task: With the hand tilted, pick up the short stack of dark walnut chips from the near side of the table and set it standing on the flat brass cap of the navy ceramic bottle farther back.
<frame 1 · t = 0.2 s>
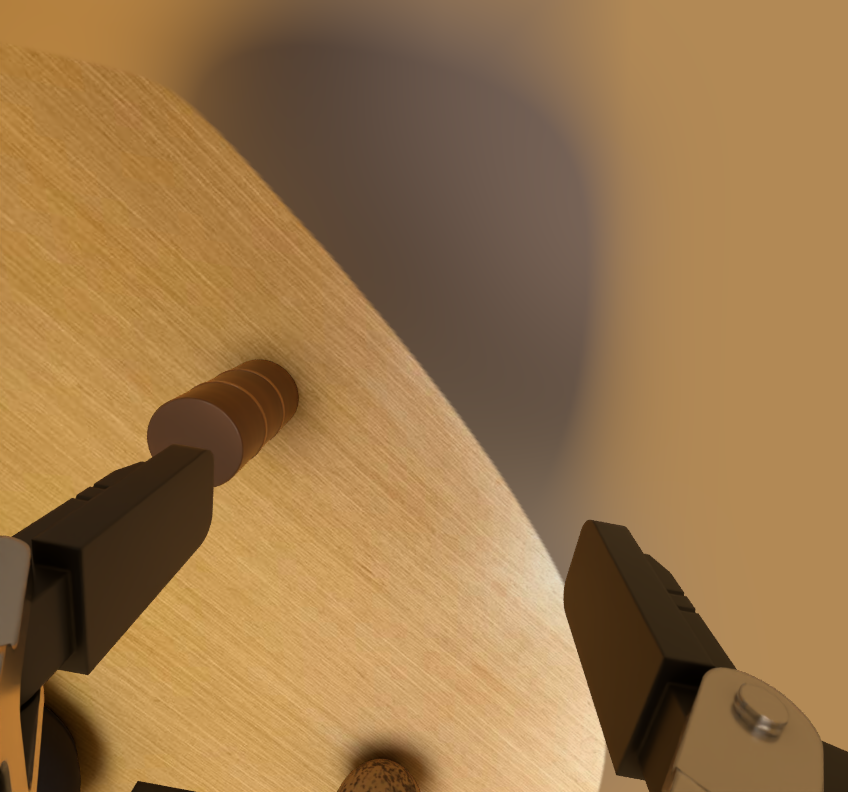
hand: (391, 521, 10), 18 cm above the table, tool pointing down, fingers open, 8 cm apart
decorative egg: (384, 765, 37), on the table
teapot: (14, 728, 38), on the table
chip stack: (263, 394, 29), on the table
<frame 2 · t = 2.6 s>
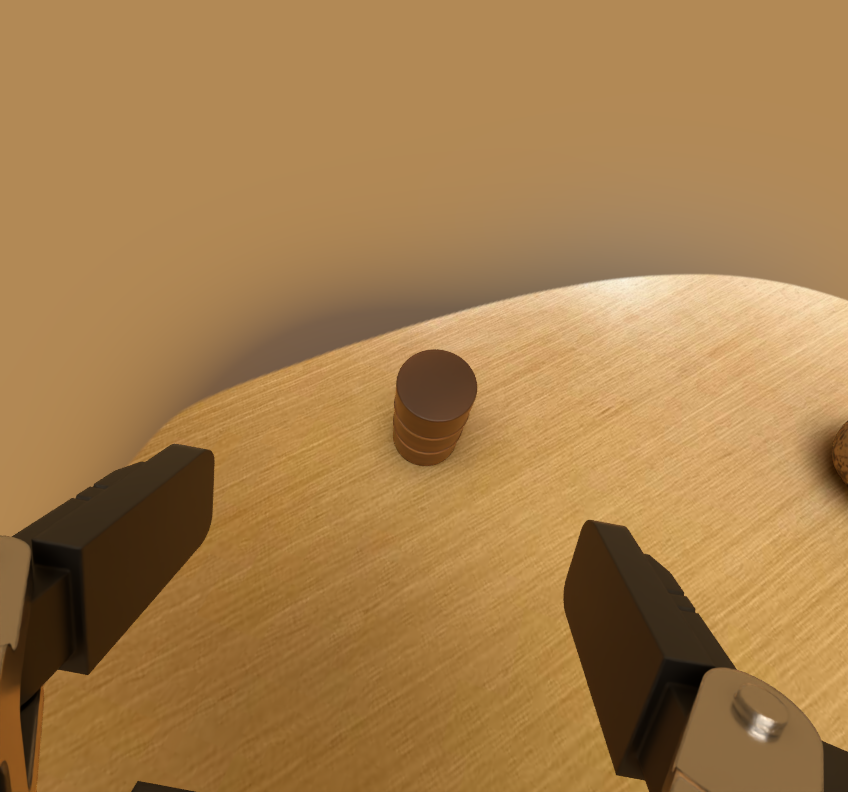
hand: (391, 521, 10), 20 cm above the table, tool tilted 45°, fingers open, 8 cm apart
chip stack: (424, 435, 33), on the table
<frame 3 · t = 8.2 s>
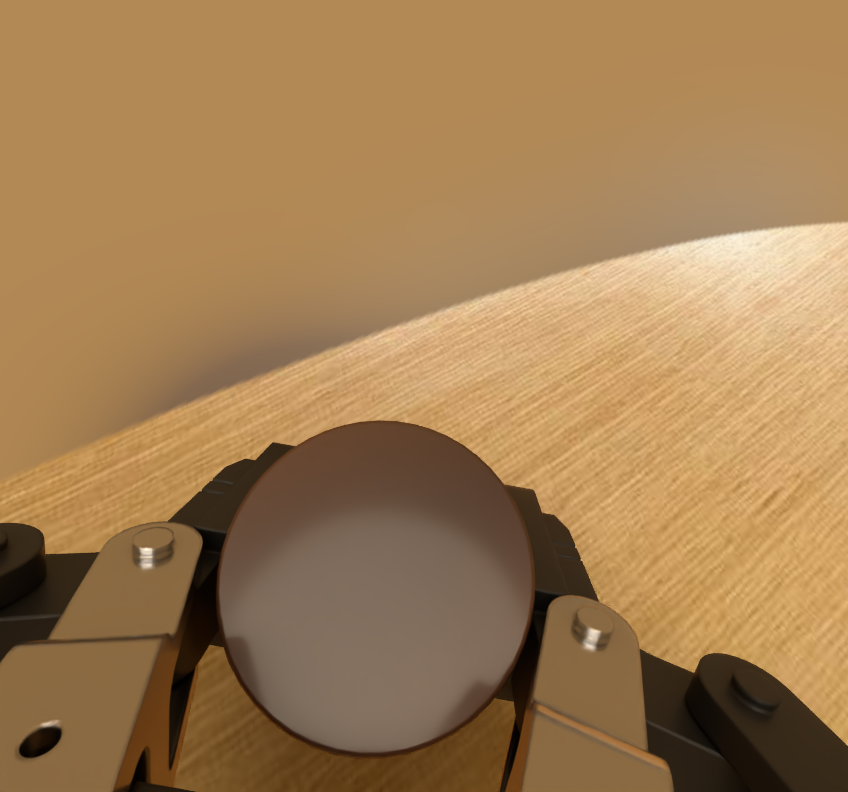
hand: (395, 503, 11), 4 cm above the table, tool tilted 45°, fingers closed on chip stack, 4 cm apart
chip stack: (379, 604, 14), on the table, touching gripper
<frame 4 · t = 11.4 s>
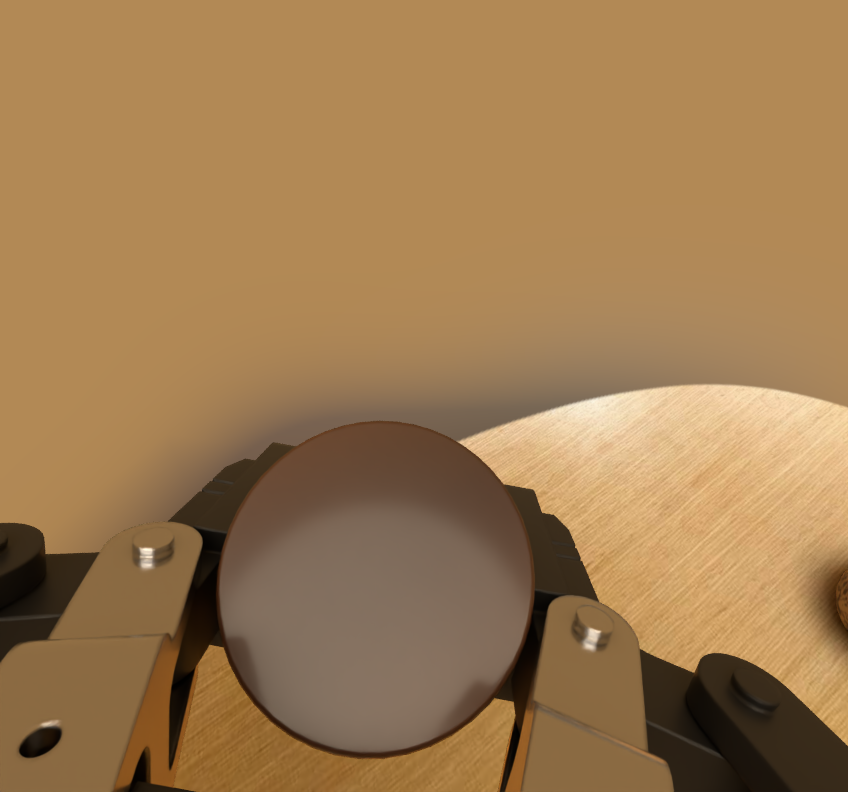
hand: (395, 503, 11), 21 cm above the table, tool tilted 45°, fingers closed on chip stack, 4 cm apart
chip stack: (379, 604, 14), point 17 cm above the table, touching gripper
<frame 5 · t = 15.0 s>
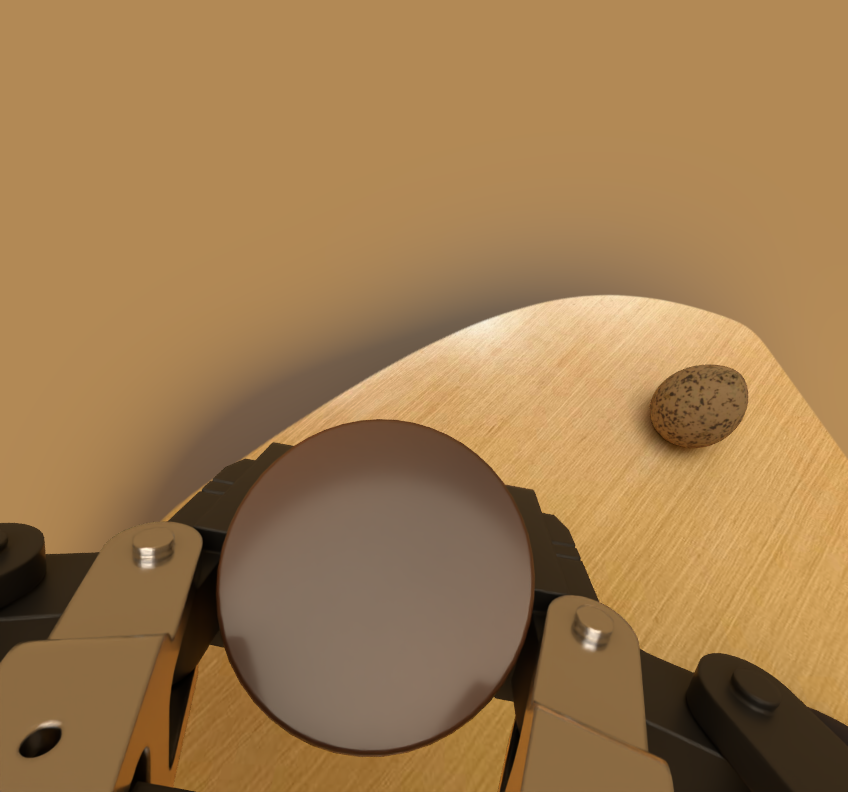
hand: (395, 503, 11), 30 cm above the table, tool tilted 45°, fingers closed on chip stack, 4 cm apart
decorative egg: (668, 427, 47), on the table
chip stack: (379, 603, 14), point 26 cm above the table, touching gripper
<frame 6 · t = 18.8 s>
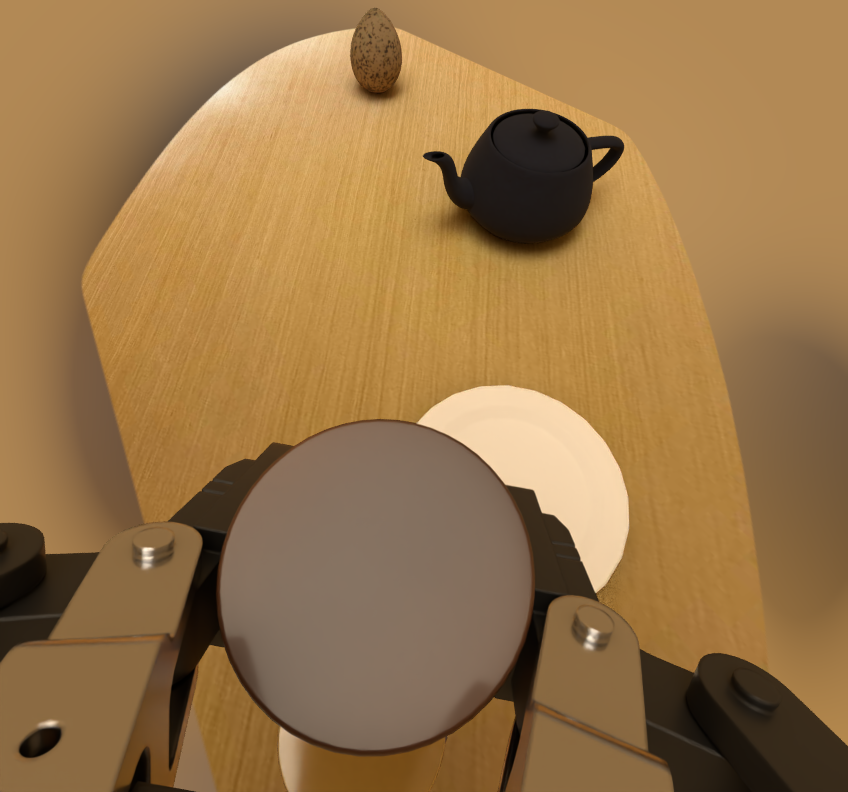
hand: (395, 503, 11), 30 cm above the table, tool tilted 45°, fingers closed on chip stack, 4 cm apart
decorative egg: (376, 90, 70), on the table
bottle: (373, 683, 35), on the table
teapot: (510, 214, 60), on the table
plate: (507, 494, 43), on the table
chip stack: (379, 603, 14), point 26 cm above the table, touching gripper
when the fingers open (25 cm above the table, at t = 21.8 s): chip stack stays where it is, resting on bottle.
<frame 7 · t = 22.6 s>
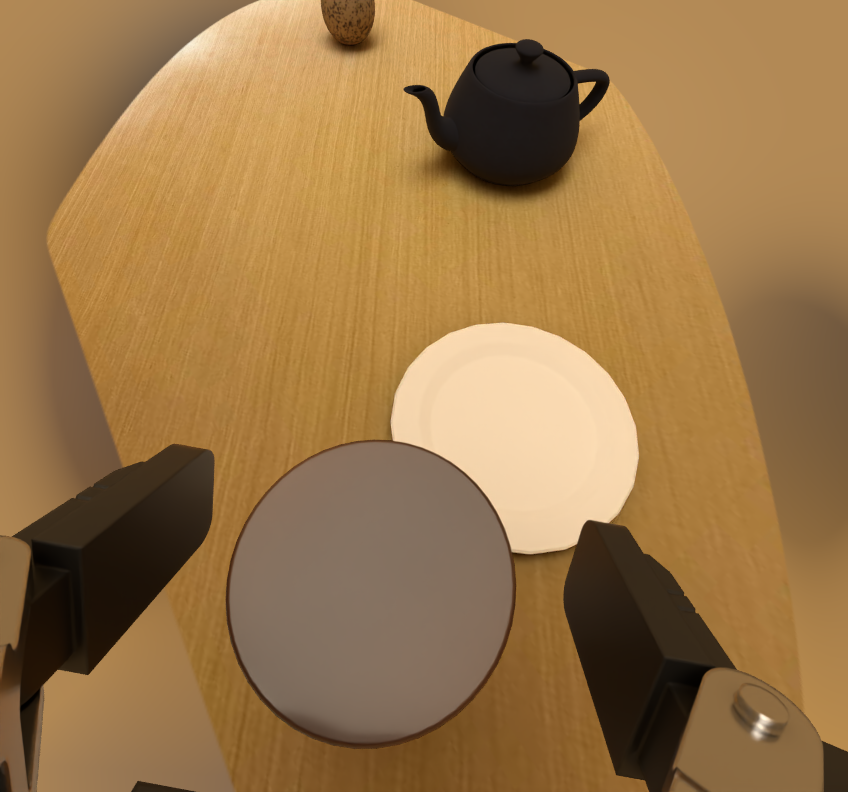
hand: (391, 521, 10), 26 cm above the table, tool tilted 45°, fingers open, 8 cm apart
decorative egg: (350, 43, 67), on the table
teapot: (496, 159, 58), on the table
plate: (510, 432, 41), on the table
chip stack: (378, 606, 14), point 21 cm above the table, touching bottle
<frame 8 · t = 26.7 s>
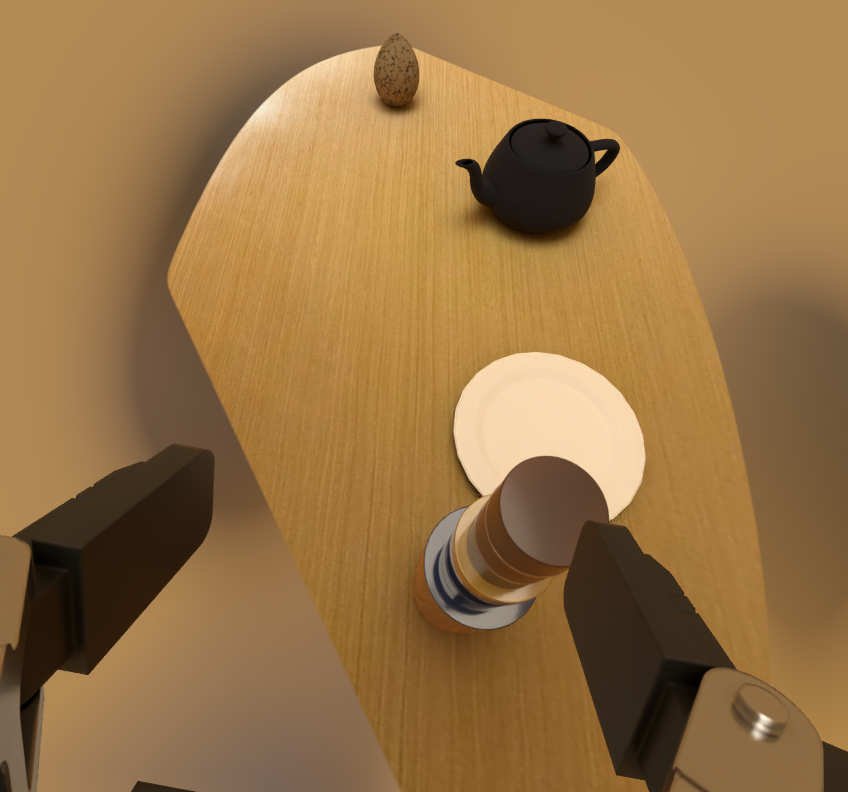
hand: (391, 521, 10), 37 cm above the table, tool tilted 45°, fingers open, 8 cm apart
decorative egg: (395, 104, 78), on the table
bottle: (454, 585, 44), on the table
teapot: (524, 209, 69), on the table
plate: (545, 439, 52), on the table
chip stack: (506, 545, 25), point 21 cm above the table, touching bottle
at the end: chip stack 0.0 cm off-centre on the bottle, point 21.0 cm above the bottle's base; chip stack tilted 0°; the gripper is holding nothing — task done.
